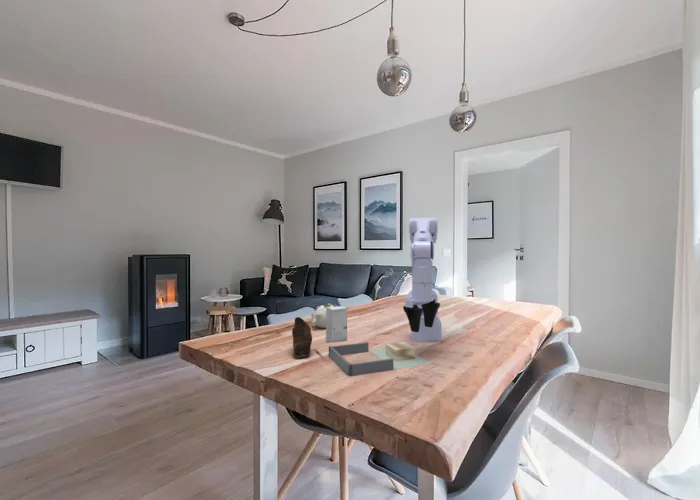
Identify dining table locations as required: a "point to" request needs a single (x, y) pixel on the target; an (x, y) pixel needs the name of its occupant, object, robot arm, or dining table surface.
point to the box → (357, 368)
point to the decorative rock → (301, 338)
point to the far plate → (403, 363)
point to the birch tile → (400, 351)
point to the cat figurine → (320, 316)
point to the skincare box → (336, 324)
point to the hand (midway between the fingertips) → (421, 329)
